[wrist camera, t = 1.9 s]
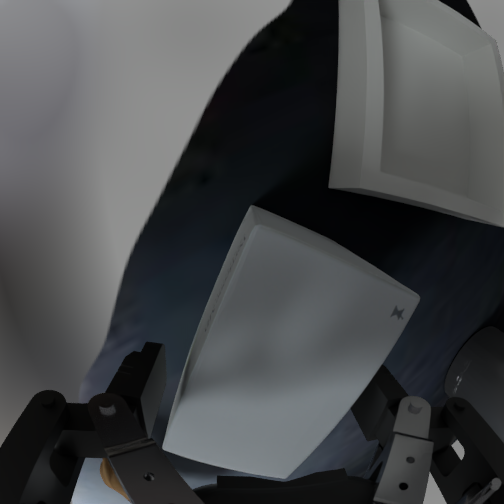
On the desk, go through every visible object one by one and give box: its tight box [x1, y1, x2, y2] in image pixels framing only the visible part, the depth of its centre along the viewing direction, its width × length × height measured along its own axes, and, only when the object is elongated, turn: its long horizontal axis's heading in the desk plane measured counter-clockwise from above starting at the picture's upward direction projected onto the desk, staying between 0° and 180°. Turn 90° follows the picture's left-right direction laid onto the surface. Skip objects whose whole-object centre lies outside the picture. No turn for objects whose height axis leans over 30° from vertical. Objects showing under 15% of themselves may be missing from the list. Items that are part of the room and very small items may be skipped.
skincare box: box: [162, 205, 420, 479], centre depth 14 cm, size 10×6×10 cm, turn 157°
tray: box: [328, 0, 504, 227], centre depth 14 cm, size 13×16×5 cm
